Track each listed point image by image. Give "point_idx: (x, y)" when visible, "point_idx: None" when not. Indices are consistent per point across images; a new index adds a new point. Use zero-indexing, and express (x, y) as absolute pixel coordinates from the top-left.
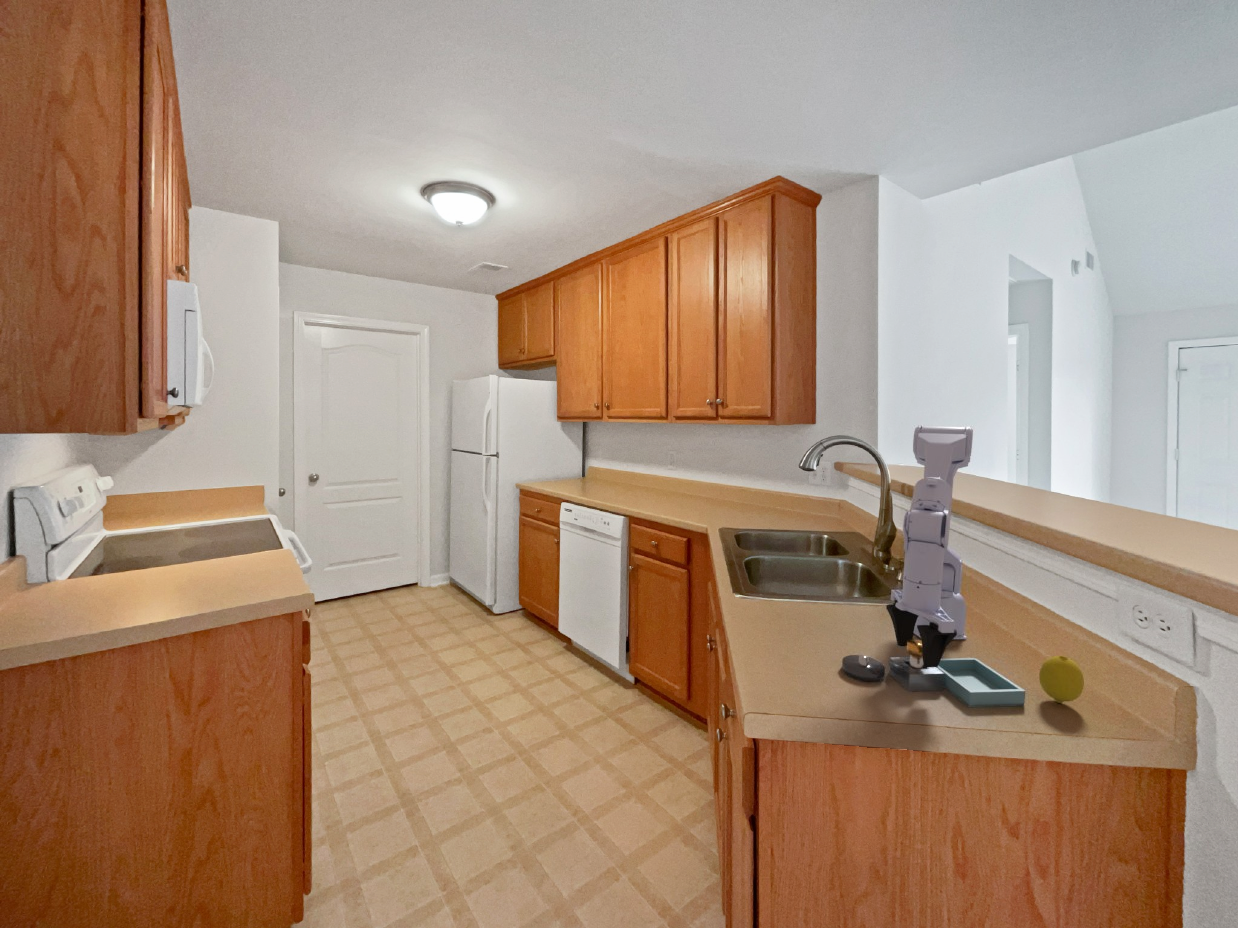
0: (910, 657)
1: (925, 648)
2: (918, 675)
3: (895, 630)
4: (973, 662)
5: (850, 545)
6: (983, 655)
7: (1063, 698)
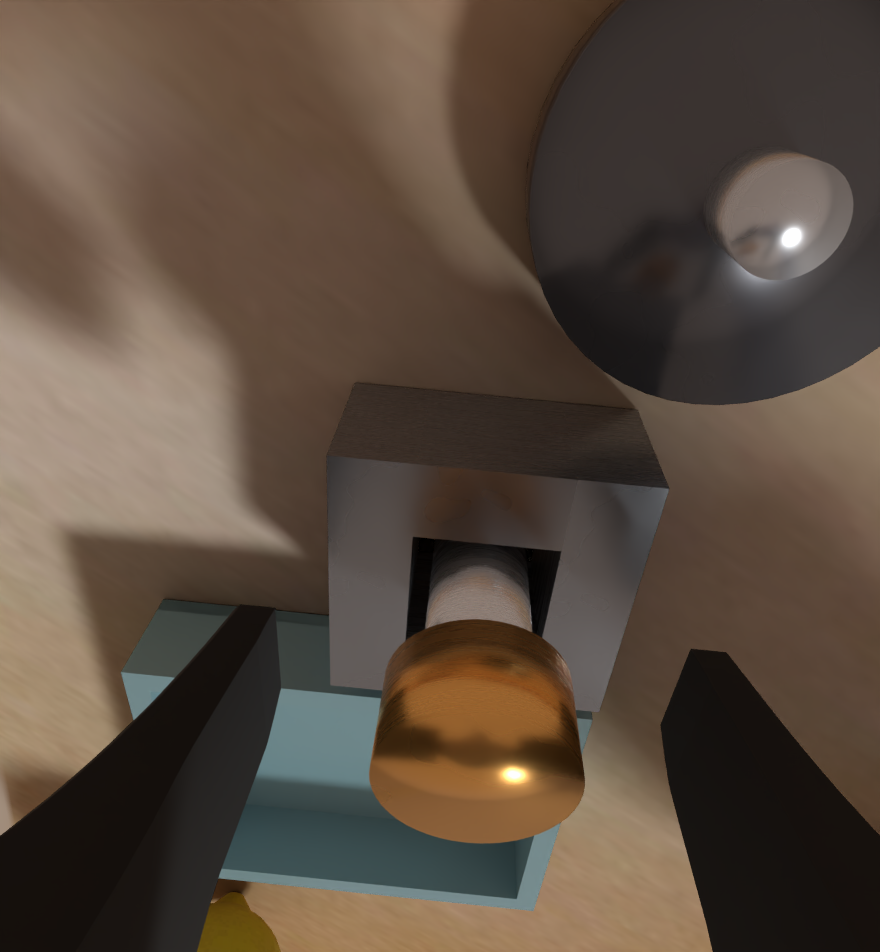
0: (498, 611)
1: (108, 759)
2: (329, 516)
3: (807, 780)
4: (517, 876)
5: None
6: (653, 933)
7: None
